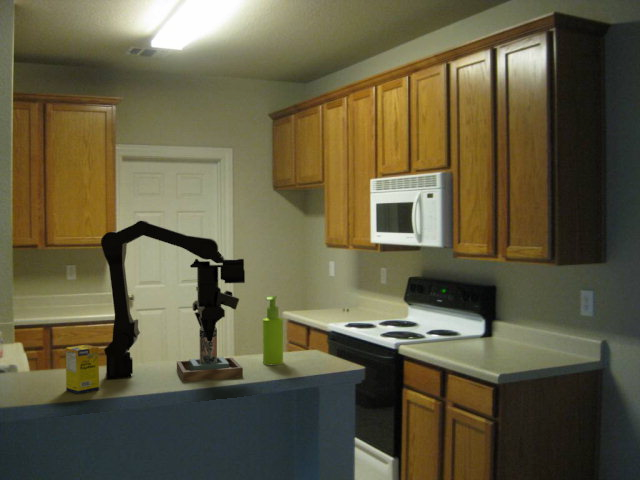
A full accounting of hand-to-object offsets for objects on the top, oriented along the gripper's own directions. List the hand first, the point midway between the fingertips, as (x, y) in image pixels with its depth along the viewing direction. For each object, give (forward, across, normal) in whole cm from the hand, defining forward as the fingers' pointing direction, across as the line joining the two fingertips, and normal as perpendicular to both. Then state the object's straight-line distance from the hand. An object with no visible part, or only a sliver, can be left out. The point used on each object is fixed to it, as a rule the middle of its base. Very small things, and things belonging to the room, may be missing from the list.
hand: (208, 339), depth 190 cm
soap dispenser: (+10, +7, -20) cm, 23 cm away
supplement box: (+10, -8, +33) cm, 35 cm away
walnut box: (+9, 0, 0) cm, 9 cm away
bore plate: (+9, 0, 0) cm, 9 cm away
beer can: (+8, 0, 0) cm, 8 cm away
